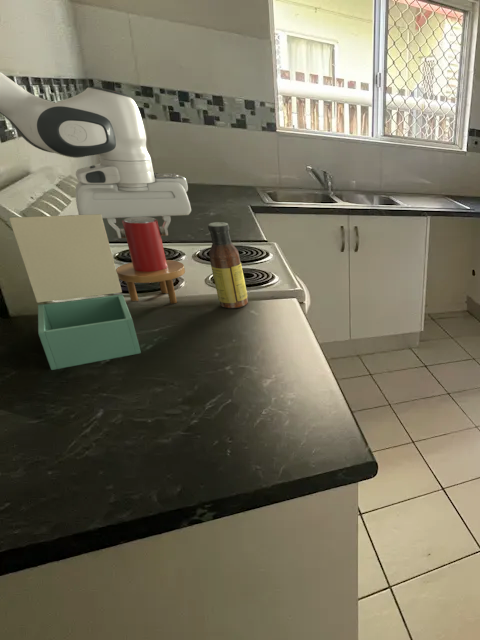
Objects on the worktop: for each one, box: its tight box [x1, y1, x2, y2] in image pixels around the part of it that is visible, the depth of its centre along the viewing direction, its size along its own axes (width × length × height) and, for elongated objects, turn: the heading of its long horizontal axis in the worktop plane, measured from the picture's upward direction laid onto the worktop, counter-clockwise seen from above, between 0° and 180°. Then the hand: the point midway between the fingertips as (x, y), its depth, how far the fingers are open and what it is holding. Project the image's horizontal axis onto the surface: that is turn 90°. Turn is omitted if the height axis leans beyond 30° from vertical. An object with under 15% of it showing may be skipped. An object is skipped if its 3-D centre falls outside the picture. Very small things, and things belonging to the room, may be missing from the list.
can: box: [121, 217, 167, 272], centre depth 109 cm, size 6×6×11 cm
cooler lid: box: [8, 214, 123, 304], centre depth 90 cm, size 15×13×1 cm
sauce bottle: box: [207, 221, 249, 309], centre depth 111 cm, size 6×6×20 cm
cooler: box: [37, 293, 142, 371], centre depth 89 cm, size 15×13×8 cm
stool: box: [116, 259, 186, 304], centre depth 113 cm, size 13×13×8 cm
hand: (143, 236), depth 108 cm, fingers closed on can, 6 cm apart
